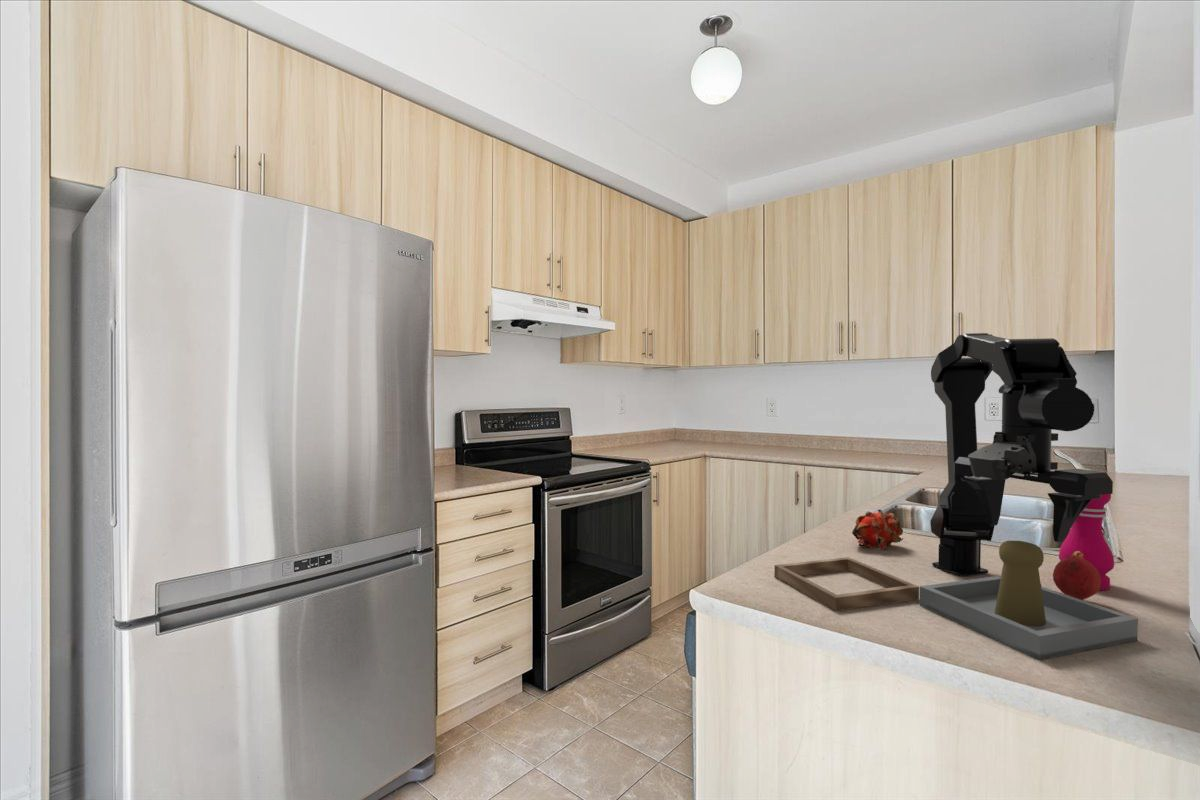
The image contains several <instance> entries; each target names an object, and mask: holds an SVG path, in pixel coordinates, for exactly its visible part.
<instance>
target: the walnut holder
mask: <svg viewBox="0 0 1200 800" xmlns="http://www.w3.org/2000/svg"><path fill="white" fill-rule="evenodd" d="M841 571H849V572H852V573H854V574H856V575H858V576H860V577H863V578H865V579H867V580H868V581H871V582H874V583H876V584H878V585H880V586H882V587H885V588H878V589H871V590H870V589H869V590H863V591H854V592H848V593H839V594H837V593H834V592H832V591H830V590H829V589H827V588H825V587H823V586H822V585H821V586H820V585H819V584H818V583H816V582H813V581H811V580H810V579H807V578H806V577H803V576H808V575H815V574H824V573H833V572H841ZM774 577H775V578H777V579H779V580H780V581H782V582H784V583H786V584H788V585H789V586H791V587H793V588H794V589H796V590H799V591H800V592H802V593H804V594H806V596H809V597H810V598H812V599H814V600H815V601H818V602H819V603H821V604H822V605H825V606H826V607H828V608H830V609H832V610H833V611H835V612H837V611H843V610H850V609H851V610H853V609H858V608H865V607H872V606H878V605H879V606H880V605H887V604H894V603H899V602H900V603H901V602H907V601H915V600H920V586H918V585H916V584H914V583H911V582H908V581H907V580H904V579H902V578H899V577H897V576H894V575H892V574H889V573H887V572H884V571H882V570H881V569H877V568H875V567H873V566H870V565H867V564H865V563H863V562H862V561H861V562H860V561H858V560H856V559H854V558H851V557H847V556H846V557H838V558H828V559H822V560H821V559H820V560H818V559H817V560H809V561H802V562H792V563H784V564H775V565H774Z"/></svg>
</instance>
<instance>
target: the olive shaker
mask: <svg viewBox="0 0 1200 800" xmlns="http://www.w3.org/2000/svg"><path fill="white" fill-rule="evenodd" d="M998 555H999V559H1000V560H1001V561H1002V562H1003V564H1002V568H1001V569H1002V570H1001V580H1000V585H999V591H998V596H997V602H996V607H995V614H997V615H999V616H1002V617H1004V618H1007V619H1009V620H1012V621H1014V622H1017V623H1019V624H1021V625H1026V626H1043V625H1045V624H1046V618H1045V611H1044V604H1043V597H1042V590H1041V587H1042V582H1041V579H1040V571H1039V568H1040V567H1042V566H1043V563H1044V560H1045V559H1044V557H1045V556H1044V551H1043V550H1042V548H1041V547H1040V546H1039V545H1037V544H1035V543H1031V542H1027V541H1022V540H1006V541H1003V542H1002V543H1001V544H1000V546H999V549H998Z"/></svg>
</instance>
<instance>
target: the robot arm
mask: <svg viewBox="0 0 1200 800" xmlns="http://www.w3.org/2000/svg"><path fill="white" fill-rule="evenodd" d="M992 371H993V373H994V374H996V375H997V376H998V377H999V378H1000V379H1001V381H1002V383H1003V384H1002V385H1001V386H1000V387H999V389H998V393H999V394H1002V396H1001V397H1002V402H1001V405H1002V406H1001V431H995V433H994V435H993V439H992V440H993V441H992V444H988V445H985V446H983V447H981V448H978V437H977V435H978V434H977V414H976V412H977V411H976V403H977V402H978V400H979V399H980V398H981V395H982V394H983V393H984V391H985V389H986V381H987V379H988V378H989V376H990V375H991V373H992ZM1077 375H1078V373H1077V372H1076V370H1075V369H1074V367H1073V366H1072V364H1071V362H1070V361H1069V359H1068V356H1067V354H1066V352H1065V350H1064V348H1063V347H1062V346H1060V342H1059V341H1058V340H1057V339H1055V338H1052V337H1050V338H1004V337H1002V336H1001V337H1000V336H996V335H993V334H989V333H988V332H976V333H974V332H973V333H963V334H958V335H957V337H956V338H955V340H954V342H953V343H952V344H950V345H949V346H947V347H946V348H945V349H943V350H942V351H940V352H939V353H938V354H937V355H936V357H935V359H934V362H933V363H932V366H931V370H930V378H931V382H932V383H933V386H934V393H935V395H937V397H938V398H939V399H940V401H941V402H942V403H943V405H944V407H945V408H944V409H945V425H946V426H945V428H946V431H945V432H946V455H947V457H946V458H947V476H948V478H947V479H948V480H947V481H948V482H947V484H946V486H945V487H944V489H942V491H941V493H940V494H939V496H938V505H937V506H936V509H935V511H934V513H933V514H932V517H931V519H930V521H929V522H930V532H931V534H934V535H935V536H936V537H937V538H938V539H939V544H938V559H937V560H938V561H934V562H932V564H931V565H932V566H933V567H936V568H938V569H940V570H944V571H946V572H950V573H952V574H955V575H958V576H961V577H965V576H972V575H973V576H974V575H983V574H987V573H989V569H988V568H984V567H981V553H982V552H981V551H982V550H981V548H982V547H981V545H982V544H981V543H982V541H988V542H992V538H993V536H994V530H995V527H996V526H997V525H998V524H999V521H1000V516H1001V512H1002V505H1003V498H1004V491H1005V485H1006V480H1008V479H1016V480H1022V481H1030V482H1034V483H1040V484H1047V485H1049V487H1051V488H1052V489H1053V491H1054V492H1047V496H1048V497H1049V499H1050V500H1051V502H1052V504H1053V513H1052V514H1053V515H1052V535H1053V541H1054V542H1055V543H1060V542H1061V543H1063V542H1064V540H1065V539H1066V537H1067V536H1068V534H1069V532H1070V529H1071V527H1072V525H1073V524H1074V522H1075V521H1076V519H1077V518H1078V516H1079V515H1080V513H1081V512H1082V511H1083V510H1084V509H1085V507H1086V506H1087V505H1088V504H1089V503H1090V502H1091V500H1092V499H1100V498H1101V495H1104V494H1111V495H1113V489H1114V485H1113V484H1114V481H1113V480H1112V479H1111V477H1110V476H1109V474H1108V473H1107V472H1105V471H1100V470H1099V471H1098V470H1093V469H1091V470H1084V469H1085V468H1084V469H1083V468H1069V469H1068V468H1067V469H1058V468H1059V467H1058V466H1059V465H1058V464H1059V463H1058V462H1057V461H1052V442H1056V441H1059V433H1055V432H1052V431H1054V430H1055V431H1062V432H1073V431H1078V430H1080V429H1083V428H1084V427H1086V425H1088V424H1089V423H1090V422H1091V420H1092V419H1093V416H1094V413H1095V405H1094V403H1093V401H1092V399H1091V397H1090V396H1089V394H1088V393H1086V392H1085V391H1084V390H1083V389H1080V388H1078V387H1077V384H1078V380H1077V378H1076V376H1077ZM1092 470H1093V471H1092Z"/></svg>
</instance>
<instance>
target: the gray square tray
mask: <svg viewBox="0 0 1200 800" xmlns="http://www.w3.org/2000/svg"><path fill="white" fill-rule="evenodd" d="M1000 580H1001V575H993V576H988V577H980V578H979V577H977V578H970V579H965V580H957V581H950V582H941V583H934V584H927V585H920V586H919V606H920V607H923V608H924V609H927V610H929V611H931V612H934V613H936V614H938V615H940V616H942V617H945V618H947V619H949V620H951V621H954V622H956V623H957V624H960V625H963V626H965V627H967V628H969V629H971V630H973V631H975V632H977V633H979V634H982V635H984V636H987V637H989V638H990V639H993V640H995V641H997V642H1000V643H1002V644H1003V645H1004V644H1005V645H1006V646H1009V647H1010V648H1013V649H1015V650H1017V651H1019V652H1022V653H1023V654H1026V655H1028V656H1030V657H1033V658H1034V659H1037V660H1039V661H1041V660H1045V659H1050V658H1055V657H1061V656H1065V655H1072V654H1075V653H1082V652H1086V651H1092V650H1097V649H1101V648H1106V647H1111V646H1118V645H1121V644H1127V643H1133V642H1138V631H1139V618H1138V617H1134V616H1132V615H1128V614H1125V613H1123V612H1119V611H1116V610H1115V609H1114V610H1113V609H1109V608H1107V607H1104V606H1101V605H1098V604H1095V603H1092V602H1090V601H1087V600H1085V599H1084V600H1081V599H1078V598H1075V597H1072V596H1069V595H1066V594H1064V593H1062V592H1059V591H1056V590H1053V589H1051V588H1048V587H1044V586H1041V590H1042V597H1043V604H1044V611H1045V618H1046V624H1045V625H1043V626H1026V625H1021V624H1019V623H1017V622H1014V621H1012V620H1009V619H1007V618H1004V617H1002V616H999V615H997V614H995V607H996V602H997V596H998V591H999V585H1000Z"/></svg>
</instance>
